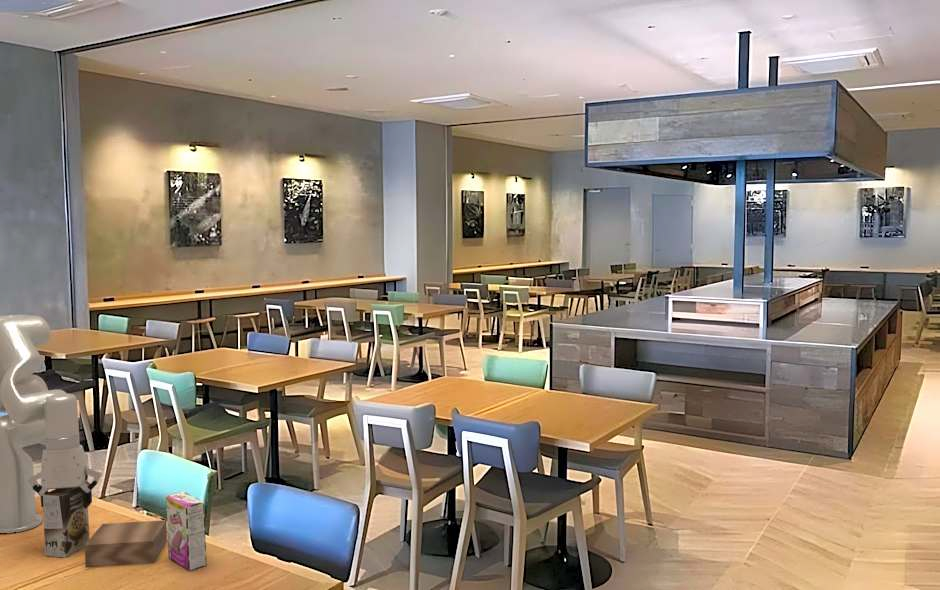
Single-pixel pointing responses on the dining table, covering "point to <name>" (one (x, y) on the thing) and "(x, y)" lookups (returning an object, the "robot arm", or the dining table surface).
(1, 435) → the robot arm
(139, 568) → the dining table surface
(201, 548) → the candy bar box
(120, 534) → the walnut box
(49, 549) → the coffee box
